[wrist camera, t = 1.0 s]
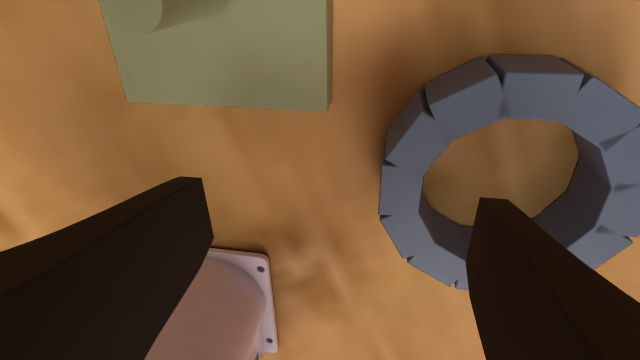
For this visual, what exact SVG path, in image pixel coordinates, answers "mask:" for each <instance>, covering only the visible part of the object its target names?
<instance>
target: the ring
mask: <svg viewBox="0 0 640 360" xmlns="http://www.w3.org/2000/svg"><path fill="white" fill-rule="evenodd" d="M424 88H425V93H424V92H423V91H421V90H419V89H418V90H417V91H416V92H415V94H414V95H413V96H412V98H411V99H410V101H409V102H408V103H407V105H406V106H405V107H404V109H403V110H402V111H401V113H400V114H399V116H398V117H397V118H396V120H395V121H394V122H393V124H392V125H391V126H390V128H389V129H388V130H387V133H386V138H384V141H383V154H382V167H381V180H380V194H379V207H378V214H380V221H381V223H382V225H383V226H384V228H385V230H386V231H387V233H388V235H389V236H390V238H391V240H392V241H393V243H394V245H395V246H396V248H397V250H398V251H399V253H400V255H401V256H402V258H403V259H404V258H407V262H408V263H409V264H411V265H412V266H414V267H416V268H418V269H419V270H421V271H423V272H425V273H426V274H428V275H430V276H432V277H433V278H435V279H437V280H439V281H441V282H442V283H444V284H446V285H448V286H451V285H452V284H454V283H455V288H456V289H463V290H469V288H468V280H467V271H466V263H465V262H466V257H467V253H468V248H469V244H470V239H471V235H472V230H473V227H469V226H460V225H458V224H456V223H454V222H453V221H451V220H449V219H448V218H446V217H444V216H443V215H441V214H439V213H438V212H436V211H434V210H433V209H431V208H430V206H429V204H428V202H427V200H426V199H425V197H424V195H423V193H422V184H423V177H424V173H425V172H426V171H427V170H428V169H429V167H430V166H431V165H432V164H433V163H434V162H435V160H436V159H437V158H438V157H439V156H440V155H441V154H442V152H443V151H444V150H445V149H446V148H447V147H448V145H449V144H450V143H451V142H452V141H453V140H454V139H457V138H459V137H461V136H464V135H466V134H469V133H471V132H473V131H476V130H478V129H481V128H483V127H485V126H488V125H490V124H493V123H495V122H497V121H500V120H502V119H524V120H545V121H559V122H560V123H562V124H563V125H565V126H566V127H568V128H570V129H571V130H572V131H573V134H574V137H575V140H576V144H577V147H578V150H579V153H580V158H579V161H578V164H577V166H576V169H575V172H574V175H573V177H572V180H571V183H570V185H569V188H568V191H566V192H565V193H564V194H563V195H562V196H561V197H559V198H558V199H557V200H556V201H555V202H554V203H552V204H551V205H550V206H549V207H548V208H546V209H545V210H544V211H543V212H542V213H541V214H539V215H538V216H537V217H535V218H532V220H533V221H534V222H535V223H536V224H538V225H539V226H540V227H541V228H542V229H543V230H545V231H546V232H547V233H548V234H549V235H551V236H552V237H553V238H554V239H555V240H557V241H558V242H559V243H560V244H561V245H563V246H564V247H565V248H566V249H568V250H569V251H570V252H571V253H573V254H574V255H575V256H576V257H578V258H579V259H580V260H581V261H583V262H584V263H585V264H587V265H588V266H589V267H590V268H592V269H593V270H594V269H596V268H597V267H599V266H600V265H602V264H603V263H605V262H606V261H608V260H609V259H610V258H612V257H613V256H615V255H616V254H618V253H619V252H621V251H622V250H624V249H625V248H626V247H628V246H629V245H631V244H632V243H633V242H632V241H631V239H630V238H629V237H628V236H630V237H638V236H639V235H640V107H639V106H637V105H636V104H634V103H633V102H632V101H630V100H629V99H627V98H626V97H624V96H623V95H621V94H620V93H618V92H617V91H615V90H614V89H612V88H611V87H610V86H608V85H607V84H605V83H604V82H602V81H601V80H599V79H598V78H596V77H595V76H593V75H591V74H590V73H588V72H586V71H585V70H583V69H581V68H579V67H578V66H576V65H574V64H572V63H571V62H569V61H567V60H565V59H564V58H561V59H558V58H557V57H555V56H552V55H504V54H491V55H489V56H488V61H487V62H486V61H485V60H484V59H483V58H482V57H481V56H480V57H478V58H476V59H474V60H472V61H470V62H468V63H466V64H464V65H462V66H460V67H457V68H455V69H453V70H451V71H449V72H447V73H445V74H443V75H441V76H439V77H437V78H435V79H433V80H431V81H429V82H427V83H425V84H424Z"/></svg>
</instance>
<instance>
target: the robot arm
mask: <svg viewBox="0 0 640 360" xmlns="http://www.w3.org/2000/svg"><path fill="white" fill-rule="evenodd" d="M213 239H214V236H213V231H212V226H211V221H210V216H209V212H208V207H207V202H206V197H205V192H204V188H203V183H202V178H196V177H182V176H181V177H178V178H175V179H172V180H170V181H167V182H165V183H162V184H160V185H158V186H156V187H153V188H151V189H149V190H147V191H145V192H143V193H141V194H138V195H136V196H134V197H132V198H130V199H128V200H126V201H124V202H121V203H119V204H117V205H115V206H113V207H111V208H109V209H107V210H104V211H102V212H100V213H98V214H95V215H93V216H91V217H88V218H86V219H84V220H82V221H79V222H77V223H75V224H73V225H70V226H68V227H66V228H63V229H61V230H58V231H56V232H54V233H51V234H48V235H46V236H43V237H41V238H38V239H35V240H33V241H30V242H27V243H24V244H22V245H19V246H16V247H13V248H11V249H8V250H5V251H2V252H0V360H261V358H262V355H263V352H266V353H276V352H277V350H278V339H277V329H276V320H275V311H274V302H273V293H272V283H271V274H270V265H269V259H268V257H267V256H266V255H264V254H260V253H251V252H242V251H233V250H224V249H215V248H210V246H211V243H212V241H213ZM465 263H466V271H467V280H468V288H469V295H470V300H471V304H472V308H473V312H474V316H475V320H476V324H477V328H478V331H479V335H480V339H481V342H482V346H483V350H484V354H485V357H486V360H640V303H639V302H637V301H636V300H635V299H633V298H632V297H630V296H629V295H627V294H626V293H624V292H623V291H622V290H620V289H619V288H617V287H616V286H615V285H613V284H612V283H611V282H609V281H608V280H607V279H605V278H604V277H603V276H601V275H600V274H598V273H597V272H596V271H594V270H593V269H592V268H590V267H589V266H588V265H587V264H585V263H584V262H583V261H581V260H580V259H579V258H578V257H576V256H575V255H574V254H573V253H571V252H570V251H569V250H568V249H566V248H565V247H564V246H563V245H561V244H560V243H559V242H558V241H557V240H555V239H554V238H553V237H552V236H551V235H549V234H548V233H547V232H546V231H545V230H543V229H542V228H541V227H540V226H539V225H538V224H536V223H535V222H534V221H533V220H532V219H531V218H529V217H528V216H527V215H526V214H525V213H524V212H522V211H521V210H520V209H519V208H518V207H516V206H515V205H514V204H513V203H511V202H510V201H509V200H507V199H496V198H482V197H480V199H479V204H478V208H477V213H476V217H475V221H474V226H473V230H472V235H471V239H470V244H469V248H468V253H467V257H466V262H465ZM260 266H261V267H263V268H261V267H260Z"/></svg>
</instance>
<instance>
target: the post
mask: <svg viewBox="0 0 640 360" xmlns="http://www.w3.org/2000/svg"><path fill="white" fill-rule="evenodd" d="M99 4H100V7H101V11H102V14H103V18H104V21H105V25H106V29H107V32H108V36H109V39H110V43H111V46H112V50H113V53H114V57H115V61H116V64H117V68H118V71H119V75H120V78H121V82H122V85H123V89H124V93H125V96H126V100H127V102H128V103H147V104H168V105H189V106H210V107H232V108H253V109H274V110H295V111H316V112H327V111H328V109H329V106H330V104H331V102H332V0H99Z"/></svg>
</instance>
